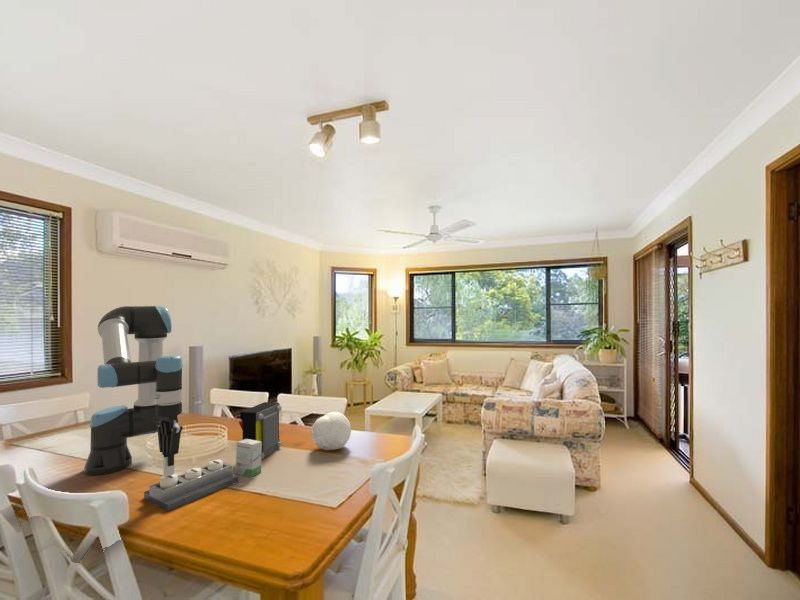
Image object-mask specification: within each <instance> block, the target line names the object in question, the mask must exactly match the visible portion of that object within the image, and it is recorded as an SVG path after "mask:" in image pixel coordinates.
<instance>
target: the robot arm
mask: <svg viewBox="0 0 800 600" xmlns="http://www.w3.org/2000/svg"><path fill="white" fill-rule="evenodd" d="M97 333H98V335H99V337H101V342H102V353H103V355H102V356H103V357H102V358H103V364H100V365H98V366H97V373H96V374H97V376H96V377H97V378H96V380H97V387H99V388H103V389H104V388H107V389H108V388H117V387H124V386H125V387H126V386H133V385H134V386H135V385H137V388H138V390H137V393H138V394H137V399H136V400H135V401H134V402H133V407H131V408H128V406H127V405H126V404H125V405H124V404H123V405H116V406H111V407H107V408H103V409H100V410H98V411H96V412H94V413H93V414H92V415H91V417H90V425H89V428H90V450H89V455H88V457H87V459H86V461H85V464H84V470H83V471H84V474H85V475H87V476H100V475H106V474H111V473H114V472H118V471H121V470H124V469H126V468H128V467H130V466H131V465H132V463H133V457H132V454H131V452H130V449H129V446H128V441H127V440H128V438H134V437H140V436H145V435H150V434H157V438H158V450H159V453H161V454H162V456H163V457H162V459H163V461H162V462H163V465H162V467H163V468H162V469H163V470H162V472H163V473H162V474H163V475H162V476H164V477H167V476H170V475H173V474H174V473H175V455H177V454H179V450H180V449H179V448H180V443H181V434H182V431H183V425H179V419H178V417H179V415H181V414H182V413H183V403H182V401H183V367H184V366H183V358H182V356H181V355H164V354H163V353H164V352H163V350H164V347H163V346H164V343H163V342H164V340H166V339H167V338H168V334H171V333H172V319H171V313H170V311H169V310H168V308H167V307H166V306H161V305H160V306H159V305H150V306H149V305H145V306H144V305H143V306H141V305H140V306H138V305H135V306H129V305H128V306H126V305H125V306H119V307H116V308H114V309H112V310H110V311H108V312H107V313H106V314H105V315H103V316H102V317H101V319H100V321H99V322H98V325H97ZM128 335H134V339H135V340H136V341H137V342H138V361H134V362H132V359H131V358H132V357H131V351H130V346H129V340H128Z"/></svg>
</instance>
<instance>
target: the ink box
mask: <svg viewBox="0 0 800 600" xmlns="http://www.w3.org/2000/svg"><path fill="white" fill-rule="evenodd" d="M235 450H236V451H235V452H236V453H235V455H236V456H235V474H237V475H242V476H248V477H254V476H256V475H258V474H260V473H262V459H261V451H262V442H261V441H256V440H251V439H244V440H243V439H241V440H239V441H236V449H235Z"/></svg>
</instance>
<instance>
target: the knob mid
mask: <svg viewBox="0 0 800 600" xmlns="http://www.w3.org/2000/svg"><path fill="white" fill-rule="evenodd" d="M184 473H185V479H187V480H191V479H194V478H197V477H200V476H201V467H192V468H189V469H186V470H185V472H184Z"/></svg>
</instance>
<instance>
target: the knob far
mask: <svg viewBox="0 0 800 600" xmlns="http://www.w3.org/2000/svg"><path fill="white" fill-rule="evenodd" d="M223 462H224V460H223V459H214V460H210V461H208V462H207V465H208V471H211V472H213V471H216V470H218V469H221V468H223Z"/></svg>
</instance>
